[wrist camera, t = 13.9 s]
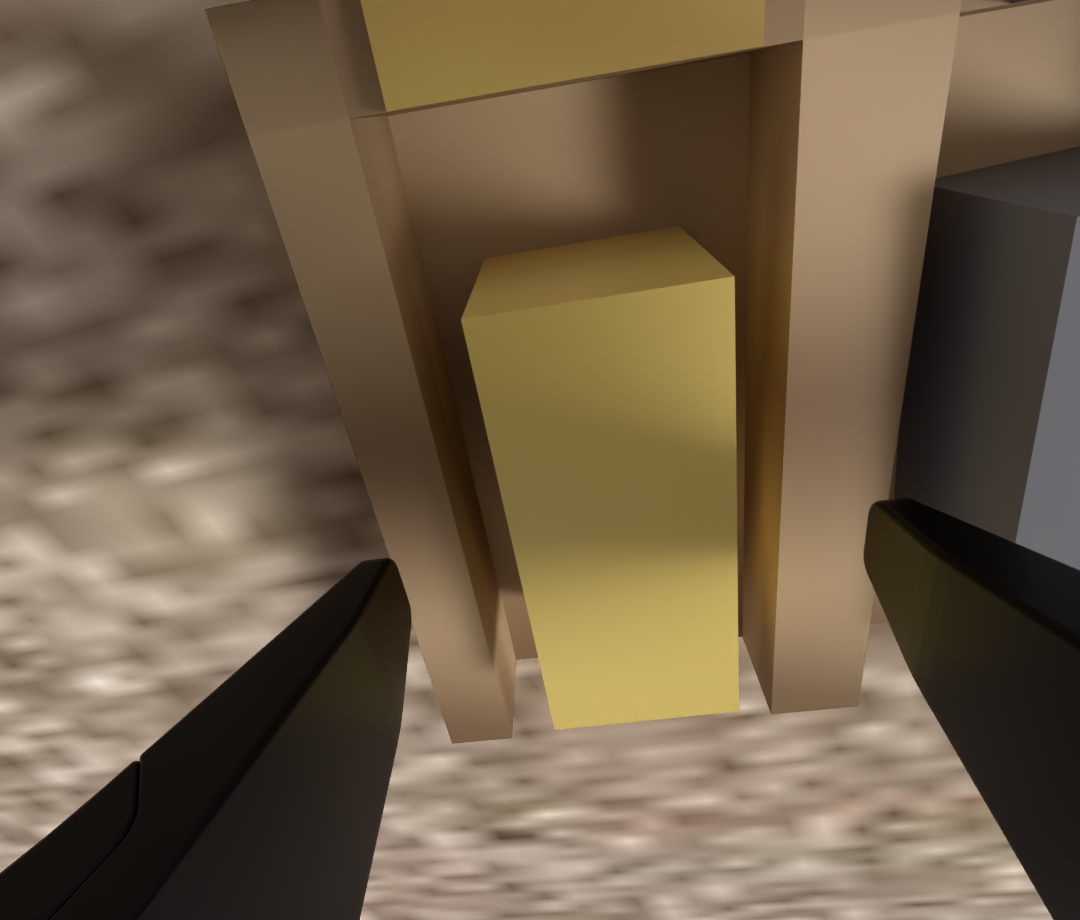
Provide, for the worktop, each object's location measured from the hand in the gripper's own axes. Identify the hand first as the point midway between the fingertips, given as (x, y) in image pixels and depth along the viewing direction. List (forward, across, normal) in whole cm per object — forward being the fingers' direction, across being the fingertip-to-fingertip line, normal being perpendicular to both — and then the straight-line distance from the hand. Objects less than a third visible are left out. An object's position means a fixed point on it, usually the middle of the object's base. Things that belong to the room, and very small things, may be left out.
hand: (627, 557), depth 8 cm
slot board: (+4, -3, -1) cm, 6 cm away
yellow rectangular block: (+4, 0, 0) cm, 4 cm away
